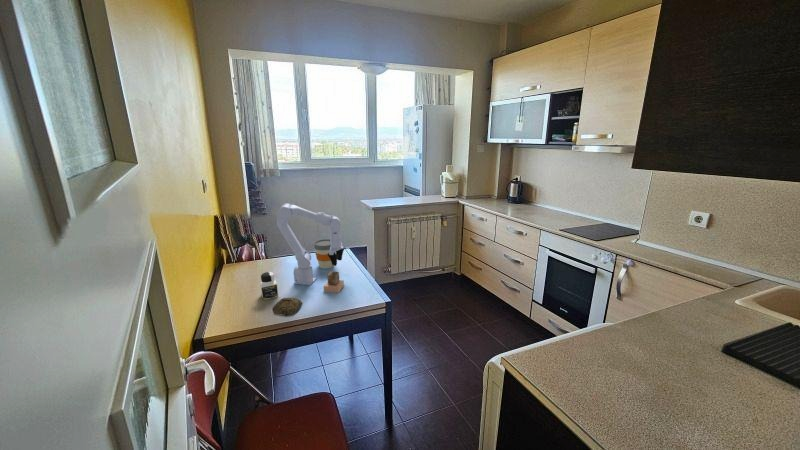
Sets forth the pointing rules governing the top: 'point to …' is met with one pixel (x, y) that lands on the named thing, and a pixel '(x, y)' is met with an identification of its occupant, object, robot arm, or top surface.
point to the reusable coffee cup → (323, 253)
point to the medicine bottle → (268, 286)
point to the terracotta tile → (334, 287)
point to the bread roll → (287, 306)
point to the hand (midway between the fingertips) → (337, 262)
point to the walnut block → (333, 278)
